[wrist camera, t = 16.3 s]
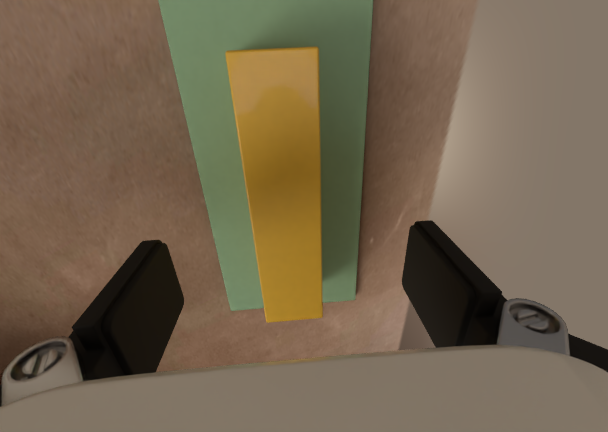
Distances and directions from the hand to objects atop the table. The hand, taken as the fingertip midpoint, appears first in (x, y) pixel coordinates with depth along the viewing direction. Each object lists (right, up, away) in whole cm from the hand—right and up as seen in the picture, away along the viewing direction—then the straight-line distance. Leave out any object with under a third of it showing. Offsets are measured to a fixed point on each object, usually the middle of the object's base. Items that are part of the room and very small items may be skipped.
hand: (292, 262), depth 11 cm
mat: (-1, +3, +5) cm, 6 cm away
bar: (-1, +3, +5) cm, 6 cm away
